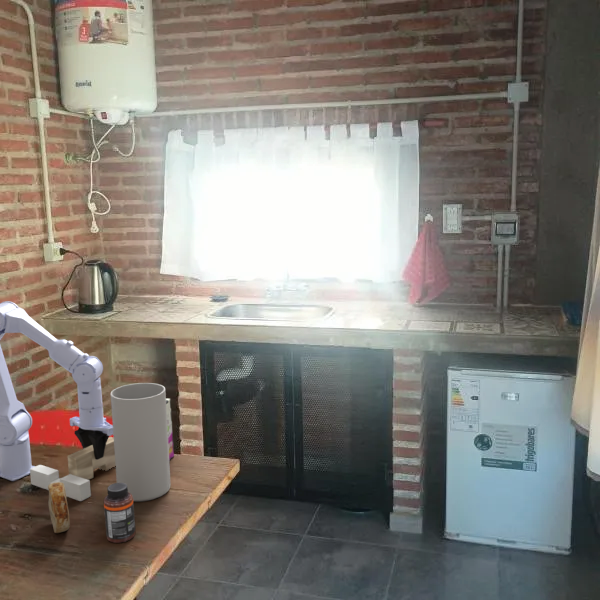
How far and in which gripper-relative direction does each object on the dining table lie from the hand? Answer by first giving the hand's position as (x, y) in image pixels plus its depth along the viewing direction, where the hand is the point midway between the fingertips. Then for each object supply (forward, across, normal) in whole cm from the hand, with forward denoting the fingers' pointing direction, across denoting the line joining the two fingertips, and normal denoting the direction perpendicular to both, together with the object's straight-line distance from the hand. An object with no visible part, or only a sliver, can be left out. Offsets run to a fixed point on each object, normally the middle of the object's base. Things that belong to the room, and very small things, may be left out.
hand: (94, 456), depth 170 cm
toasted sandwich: (+5, -15, +23) cm, 28 cm away
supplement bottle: (+5, -29, +19) cm, 35 cm away
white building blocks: (+4, 0, +11) cm, 12 cm away
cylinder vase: (+5, -18, +1) cm, 19 cm away
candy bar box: (+5, -10, -12) cm, 16 cm away
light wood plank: (+4, 0, 0) cm, 4 cm away
